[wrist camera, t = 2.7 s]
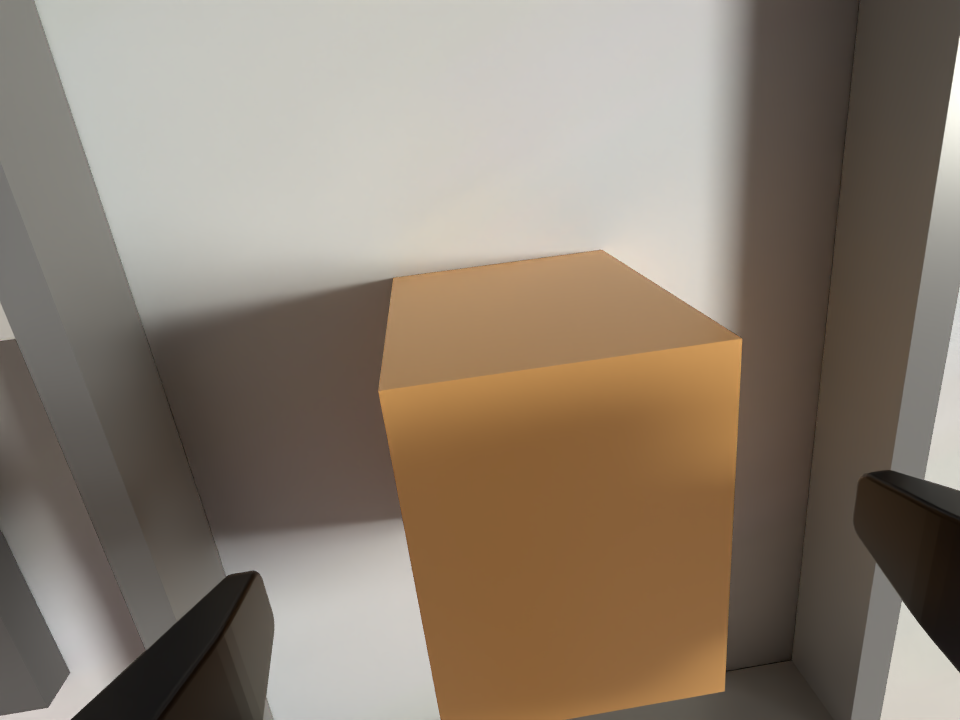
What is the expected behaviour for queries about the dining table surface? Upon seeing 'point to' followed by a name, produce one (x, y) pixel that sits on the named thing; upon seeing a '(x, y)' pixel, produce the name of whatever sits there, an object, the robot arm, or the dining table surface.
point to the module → (563, 484)
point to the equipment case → (843, 387)
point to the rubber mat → (25, 645)
